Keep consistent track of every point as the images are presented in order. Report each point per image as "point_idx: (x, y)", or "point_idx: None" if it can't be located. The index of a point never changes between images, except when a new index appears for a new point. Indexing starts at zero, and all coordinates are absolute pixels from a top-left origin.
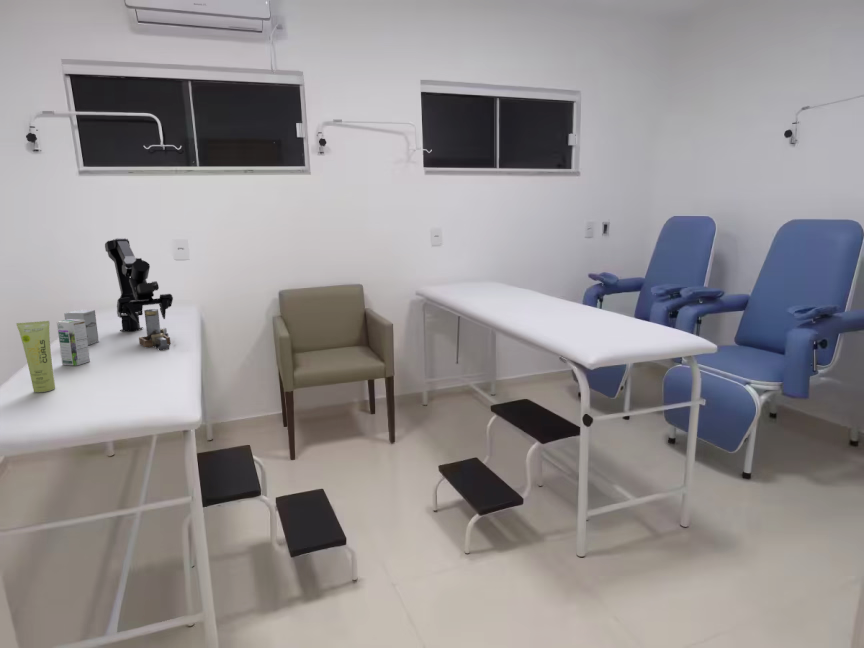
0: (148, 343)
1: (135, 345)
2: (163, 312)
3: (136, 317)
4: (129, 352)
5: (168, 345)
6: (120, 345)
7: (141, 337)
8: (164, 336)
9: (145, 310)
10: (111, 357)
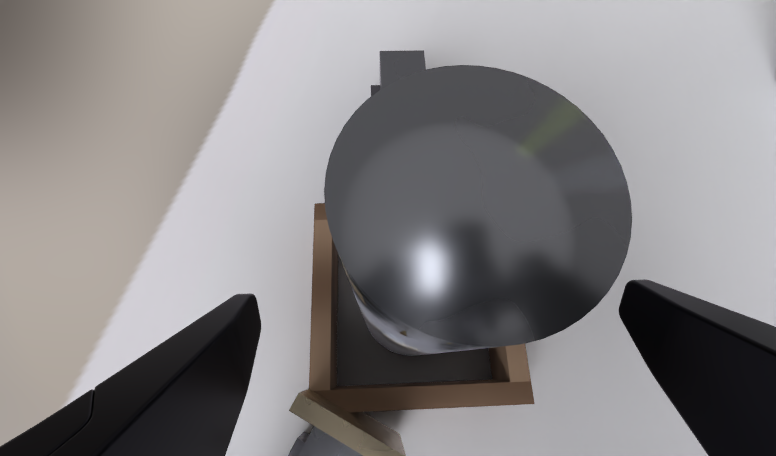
0: None
1: (544, 356)
2: (197, 343)
3: (697, 304)
4: None
5: (372, 87)
6: (656, 448)
7: (512, 380)
8: (331, 291)
9: (605, 227)
10: (678, 104)
